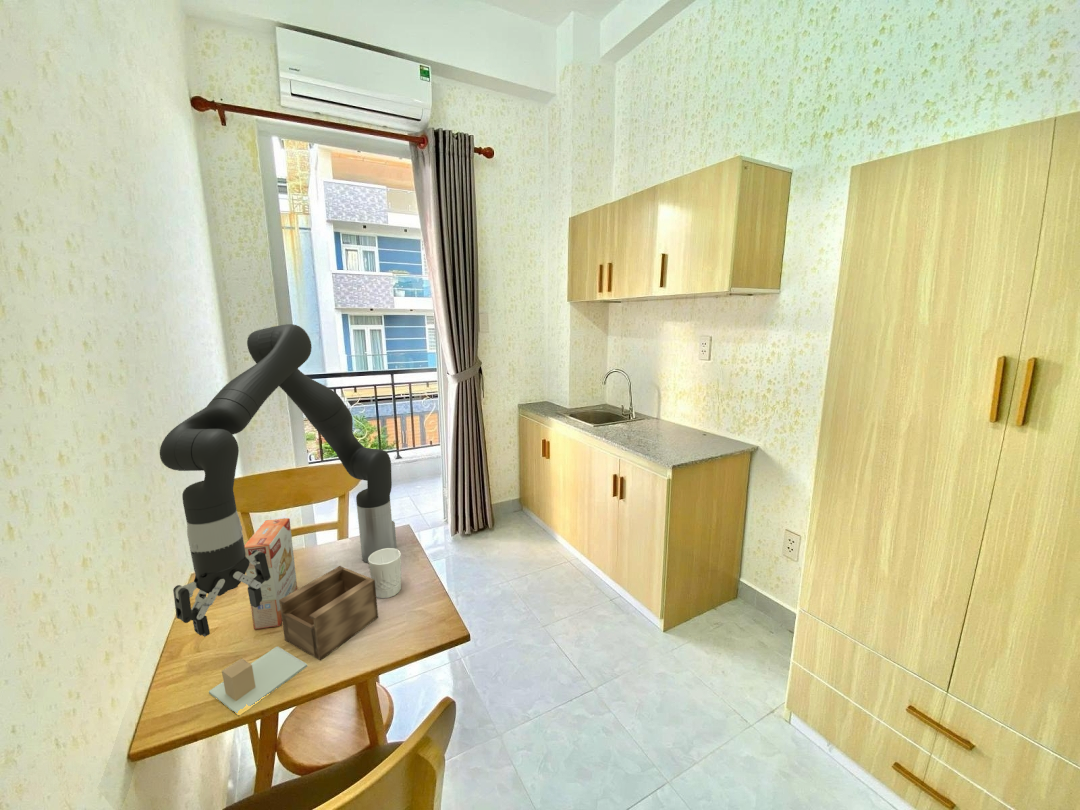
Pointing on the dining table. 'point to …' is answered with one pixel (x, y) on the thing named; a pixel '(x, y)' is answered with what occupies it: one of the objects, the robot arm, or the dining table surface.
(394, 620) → the dining table surface
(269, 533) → the cracker box
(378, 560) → the white cup
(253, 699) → the lid
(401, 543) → the dining table surface
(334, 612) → the walnut box
